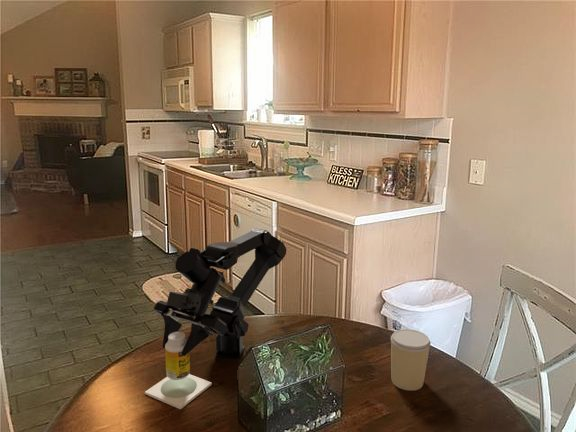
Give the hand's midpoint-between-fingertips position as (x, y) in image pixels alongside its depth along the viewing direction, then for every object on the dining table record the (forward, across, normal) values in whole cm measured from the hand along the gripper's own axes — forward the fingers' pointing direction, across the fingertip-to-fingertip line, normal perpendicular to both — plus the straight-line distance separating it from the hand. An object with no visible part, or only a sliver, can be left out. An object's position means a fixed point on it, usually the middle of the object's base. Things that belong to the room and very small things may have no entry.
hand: (173, 351), depth 109 cm
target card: (+7, 0, +8) cm, 11 cm away
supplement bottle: (+4, 0, +6) cm, 7 cm away
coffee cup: (-15, +46, +31) cm, 57 cm away
